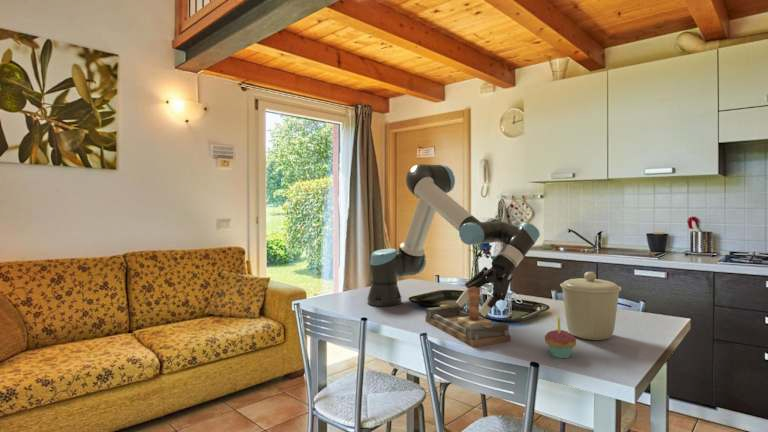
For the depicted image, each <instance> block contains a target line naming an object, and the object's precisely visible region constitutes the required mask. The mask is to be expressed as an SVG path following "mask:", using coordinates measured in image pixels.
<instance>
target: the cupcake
mask: <svg viewBox="0 0 768 432" xmlns="http://www.w3.org/2000/svg"><path fill="white" fill-rule="evenodd" d="M544 341H545V343H546V344H547V345H548V347H549V350H550V353H551V356H553V357H554V358H555V357H556V358H557V359H568V358H570V356H571V352H572V350H573V348H574V347H575V346H576V345H577V338H576V336H574V335H572V334H571V333H570V332H569V331H567V330H562V329H561V318H560V315H558V316H557V329H555V330H550V331H548V332H547V333H546V334H545V335H544Z"/></svg>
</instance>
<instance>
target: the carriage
mask: <svg viewBox="0 0 768 432" xmlns="http://www.w3.org/2000/svg"><path fill="white" fill-rule="evenodd" d="M480 294H481V291H480V288H477V287H474V286H473V287H470V288H469V289H468V295H469V299H468V306H469V307H468V313H469V316H467V317H460V318H457V324H458V325H460V326H462V327H464V328H466V327H473V326H480V325H482V323H492V320H490V319H487V318H485V317H484V316H483V317H482V315H480V312H479V309H480Z"/></svg>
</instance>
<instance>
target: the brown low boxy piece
mask: <svg viewBox="0 0 768 432" xmlns="http://www.w3.org/2000/svg"><path fill="white" fill-rule="evenodd" d="M467 316H469V312H466V311H464V306H463V307H460V306H459V305H458V304H452V305H449V304H440V305H439V306H437V307H435V306H434V307H427V308H426V315H425V318H424V319H425V320H424V321H425V322H426V323H429V324H430V325H432V326H434V327H435V328H438V329H439V330H441V331H443V332H445V333H446V334H448V335H450V336H453V337H454V338H455V339H457V340H459V341H460V342H463V343H465V344H466V345H469V346H471V347H472V348H475V347H476V348H477V347H481V346H482V345H483V346H488V344H489V345H494V344H493V343H496V344H500V343H501V342H502V343H506V342H507V343H509V342H511V340H512V339H511V337H512V336H511V334H509V330H510V329H509V324H508V323H505V322H496V323H492V322H491V323H482V325H480V326H473V327H466V328H464V327H462V326H460V325H458V324H457V318H460V317H467Z"/></svg>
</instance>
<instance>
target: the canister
mask: <svg viewBox="0 0 768 432" xmlns="http://www.w3.org/2000/svg"><path fill="white" fill-rule="evenodd" d="M583 277H584V278H580V277H579V278H570V279H567V280H564V281H563V282H561V283H560V284H559V286H560V287H561V288H562V289H561V290H562V297H563V305H564V306H563V307H564V313H565V322H566V327H567V330H568V333H570V334H572V335H573V336H574V337H575V338H580V339H583V340H589V341H603V340H607V339H609V338H611V336H612V335H613V334H614V330H615V327H616V326H615V325H616V318H617V311H618V305H619V304H618V302H619V293H620V292H621V290H622V287H621V286H619V285H618V284H616V283H615V282H614V281H613V282H612V281H609V280H606V279H605V280H604V279H601V278H600V279H598V278H597V275H596V273H595V272H593V271H586V272H584V274H583Z"/></svg>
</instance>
